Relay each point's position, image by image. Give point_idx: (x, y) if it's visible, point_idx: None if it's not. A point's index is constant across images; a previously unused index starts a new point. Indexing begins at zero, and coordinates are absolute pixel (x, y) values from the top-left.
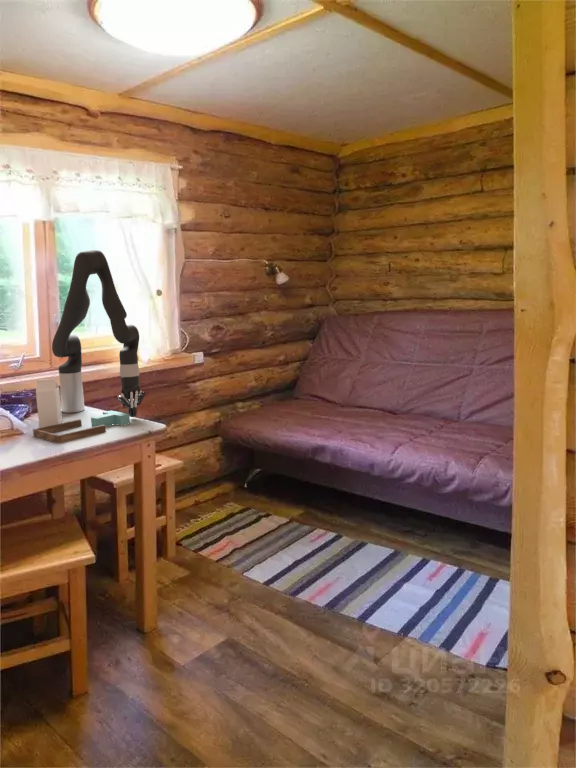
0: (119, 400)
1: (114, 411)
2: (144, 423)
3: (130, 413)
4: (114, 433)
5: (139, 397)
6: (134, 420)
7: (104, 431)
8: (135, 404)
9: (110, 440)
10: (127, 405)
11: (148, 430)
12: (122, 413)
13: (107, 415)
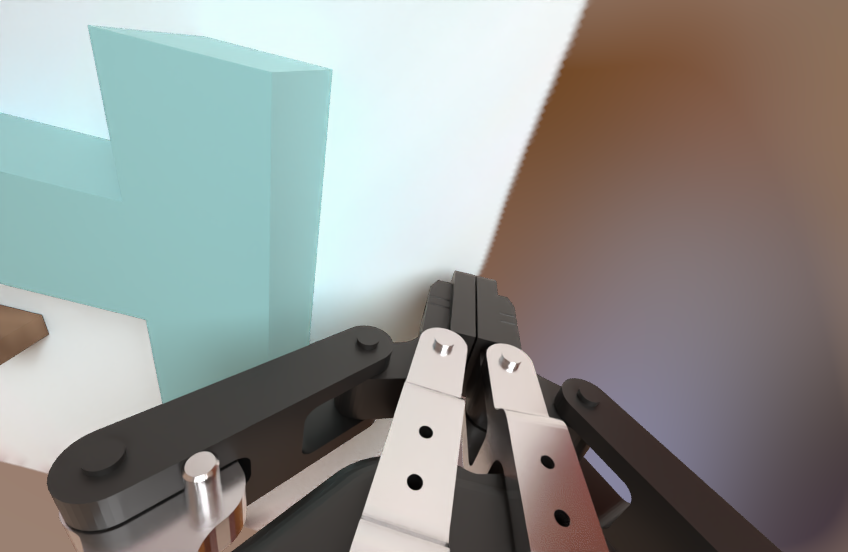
0: (179, 417)
1: (250, 195)
2: (368, 436)
3: (422, 321)
4: (80, 404)
5: (635, 549)
6: (417, 327)
7: (35, 333)
8: (481, 440)
9: (6, 453)
10: (335, 414)
11: (254, 512)
12: (239, 363)
13: (59, 269)
